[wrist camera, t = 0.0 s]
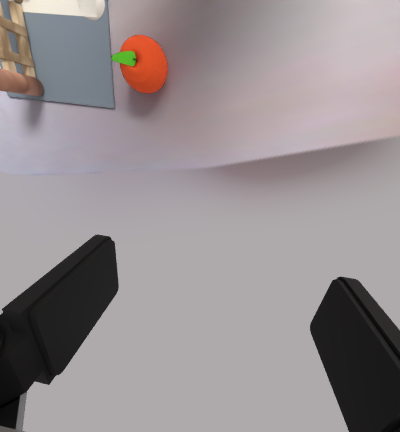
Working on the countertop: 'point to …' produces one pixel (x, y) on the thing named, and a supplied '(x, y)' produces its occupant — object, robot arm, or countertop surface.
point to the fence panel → (17, 55)
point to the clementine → (142, 63)
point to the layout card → (68, 50)
